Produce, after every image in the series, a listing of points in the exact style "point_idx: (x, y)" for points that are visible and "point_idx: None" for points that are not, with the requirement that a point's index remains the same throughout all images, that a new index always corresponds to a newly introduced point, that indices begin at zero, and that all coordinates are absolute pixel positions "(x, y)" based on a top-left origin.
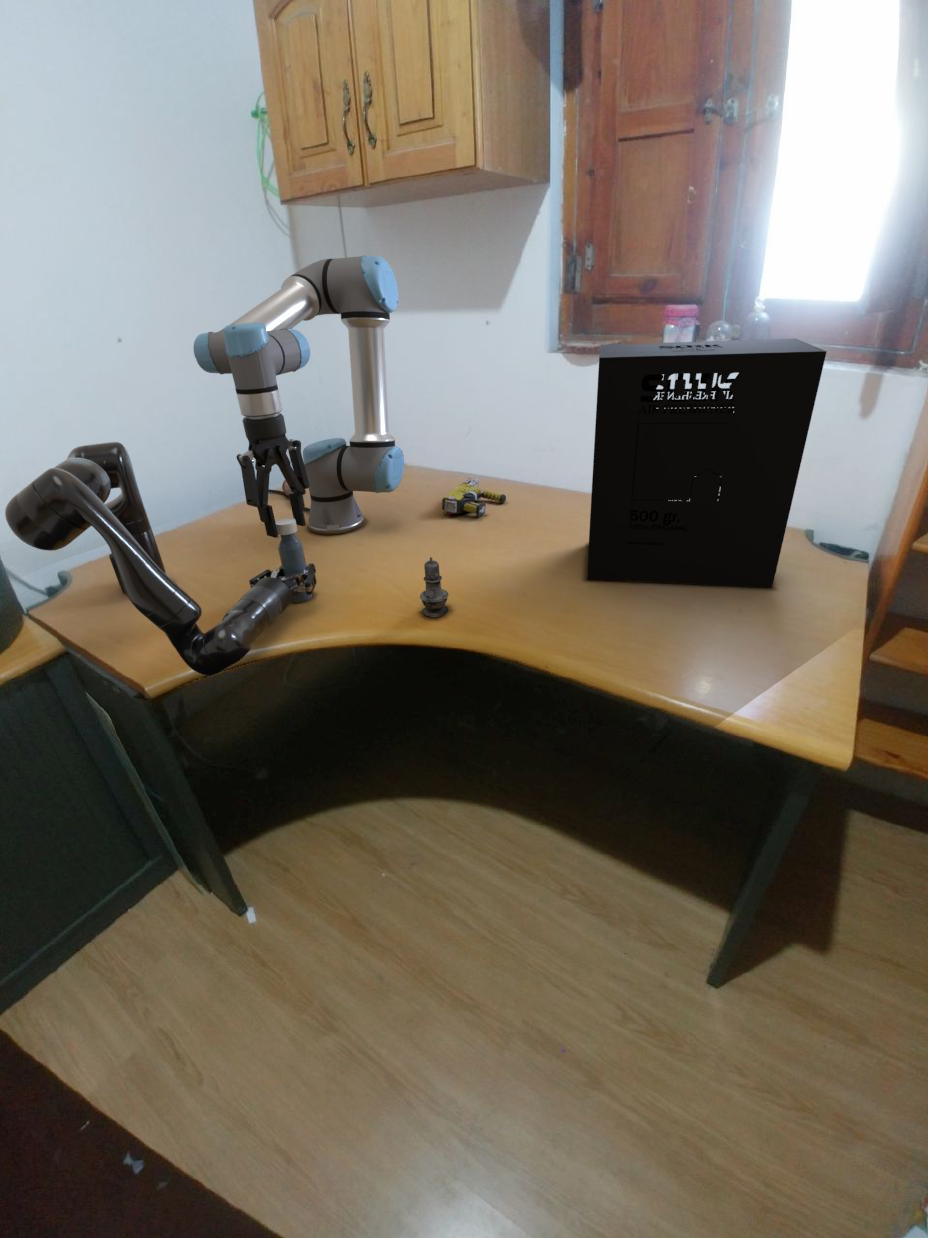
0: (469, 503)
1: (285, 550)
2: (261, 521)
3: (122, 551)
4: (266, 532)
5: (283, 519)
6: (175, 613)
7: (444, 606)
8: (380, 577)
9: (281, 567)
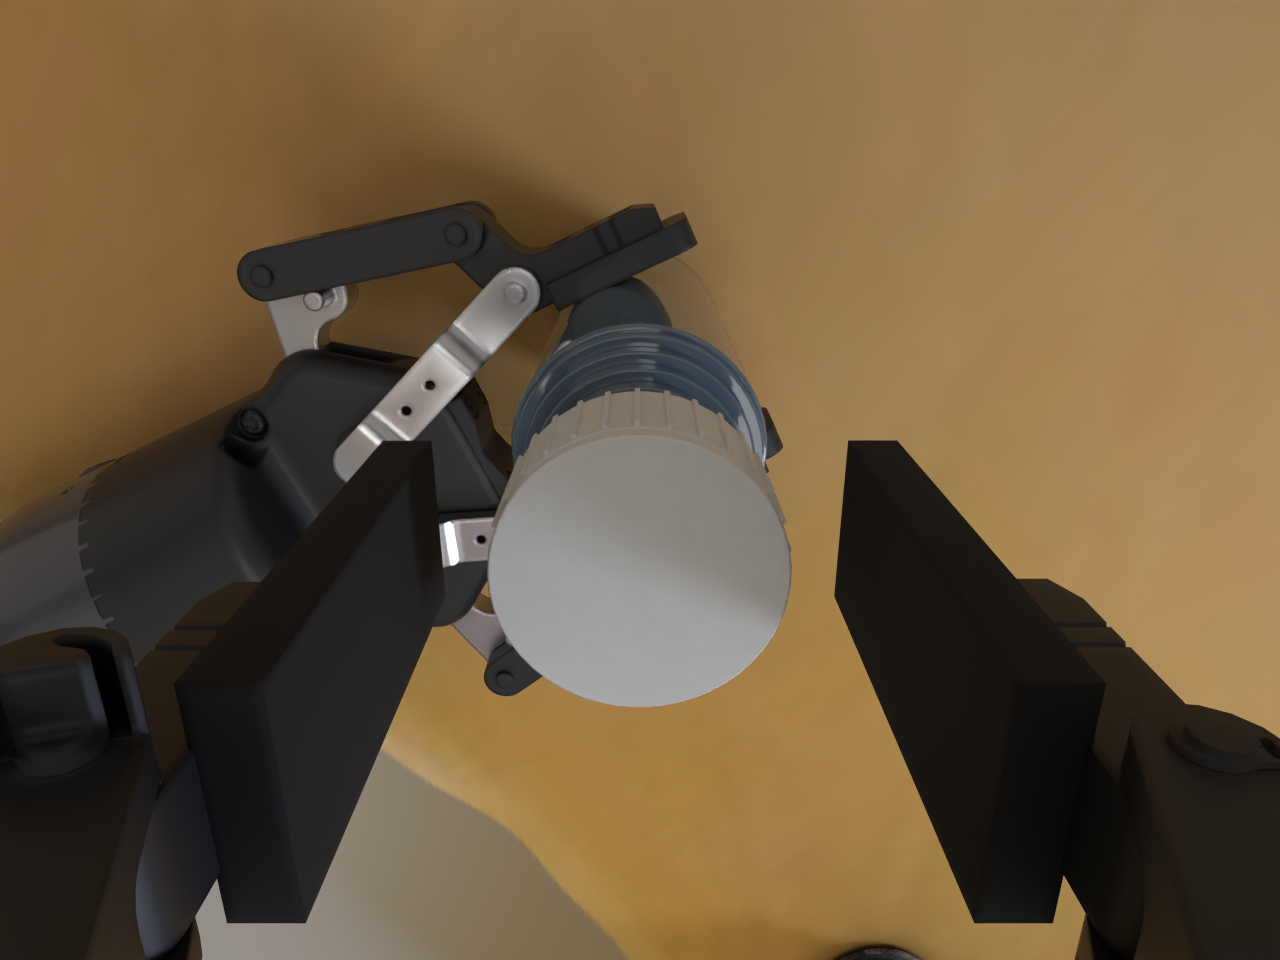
0: None
1: None
2: (228, 584)
3: None
4: (370, 456)
5: (675, 509)
6: None
7: None
8: (1093, 562)
9: (575, 284)
